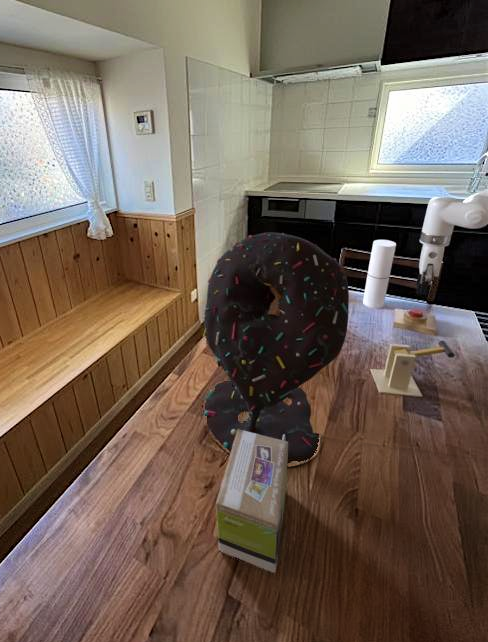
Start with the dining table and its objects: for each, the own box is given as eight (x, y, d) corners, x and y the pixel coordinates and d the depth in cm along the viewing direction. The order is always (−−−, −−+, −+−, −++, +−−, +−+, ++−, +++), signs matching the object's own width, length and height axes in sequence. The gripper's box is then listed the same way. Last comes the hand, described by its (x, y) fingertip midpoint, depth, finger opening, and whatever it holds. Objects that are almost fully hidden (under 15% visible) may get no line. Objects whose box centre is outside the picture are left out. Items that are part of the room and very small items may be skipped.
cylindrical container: (365, 307, 128) (376, 246, 117) (360, 298, 134) (371, 239, 124) (385, 309, 126) (398, 246, 116) (380, 299, 132) (392, 239, 122)
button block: (433, 320, 117) (436, 311, 116) (435, 336, 110) (438, 325, 108) (393, 313, 123) (395, 303, 121) (392, 327, 115) (395, 317, 114)
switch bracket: (408, 375, 94) (417, 341, 89) (421, 399, 86) (432, 363, 82) (369, 372, 97) (376, 338, 92) (378, 395, 89) (387, 359, 84)
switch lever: (445, 346, 86) (444, 338, 86) (455, 358, 82) (454, 350, 81) (393, 354, 90) (391, 347, 90) (399, 366, 86) (398, 359, 85)
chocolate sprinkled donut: (325, 491, 67) (357, 293, 49) (179, 439, 80) (162, 267, 62) (334, 389, 92) (358, 231, 73) (221, 362, 105) (217, 222, 86)
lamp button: (421, 313, 115) (422, 309, 115) (422, 318, 113) (423, 314, 112) (409, 311, 117) (410, 307, 116) (409, 316, 114) (410, 312, 114)
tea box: (237, 475, 71) (237, 425, 65) (286, 491, 68) (291, 439, 62) (217, 554, 59) (214, 501, 52) (276, 578, 55) (280, 525, 49)
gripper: (453, 249, 95) (437, 304, 102) (447, 231, 108) (434, 281, 116) (421, 245, 99) (408, 299, 106) (419, 229, 112) (408, 277, 119)
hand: (422, 289), depth 111 cm, fingers open, 5 cm apart
